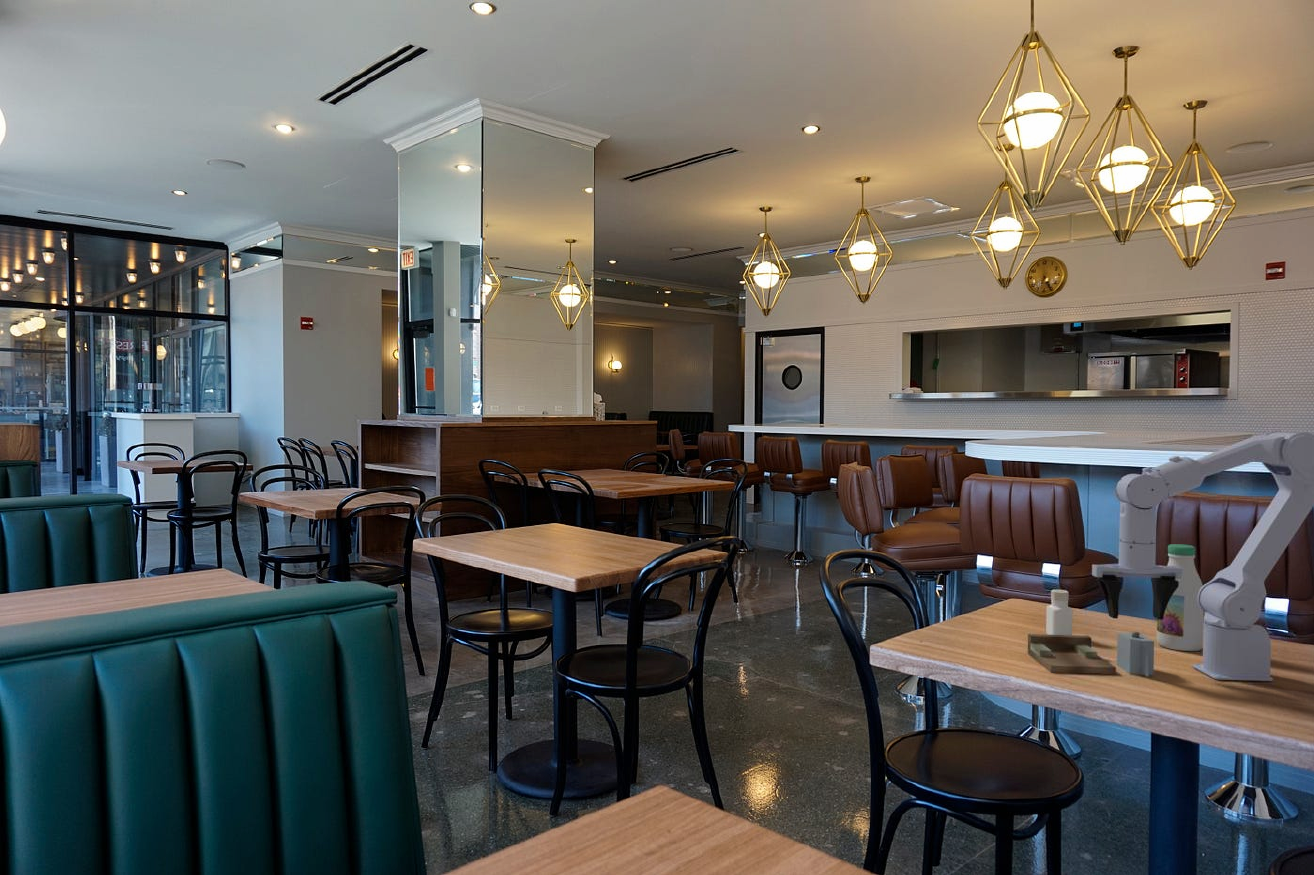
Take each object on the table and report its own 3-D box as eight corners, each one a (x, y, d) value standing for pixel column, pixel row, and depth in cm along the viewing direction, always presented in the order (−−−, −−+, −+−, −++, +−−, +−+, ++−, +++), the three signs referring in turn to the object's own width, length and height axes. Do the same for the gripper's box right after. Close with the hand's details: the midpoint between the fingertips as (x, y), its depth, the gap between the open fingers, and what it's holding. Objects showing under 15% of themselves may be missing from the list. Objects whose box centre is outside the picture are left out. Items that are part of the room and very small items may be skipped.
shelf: (1087, 655, 162) (1088, 635, 162) (1115, 674, 150) (1116, 653, 150) (1027, 653, 163) (1028, 634, 163) (1050, 672, 151) (1051, 651, 151)
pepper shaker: (1073, 640, 173) (1074, 593, 173) (1053, 639, 173) (1054, 593, 173) (1064, 634, 177) (1065, 589, 177) (1044, 634, 177) (1045, 589, 177)
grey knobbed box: (1139, 666, 155) (1140, 629, 155) (1160, 679, 148) (1160, 640, 148) (1116, 665, 156) (1117, 628, 155) (1135, 678, 148) (1136, 639, 148)
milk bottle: (1190, 642, 172) (1192, 542, 171) (1210, 652, 164) (1213, 548, 164) (1149, 641, 173) (1151, 542, 172) (1168, 651, 165) (1170, 548, 164)
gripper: (1168, 539, 156) (1167, 613, 156) (1085, 537, 157) (1084, 611, 157) (1189, 545, 149) (1187, 623, 149) (1102, 543, 150) (1100, 620, 150)
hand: (1135, 617), depth 153 cm, fingers open, 7 cm apart
